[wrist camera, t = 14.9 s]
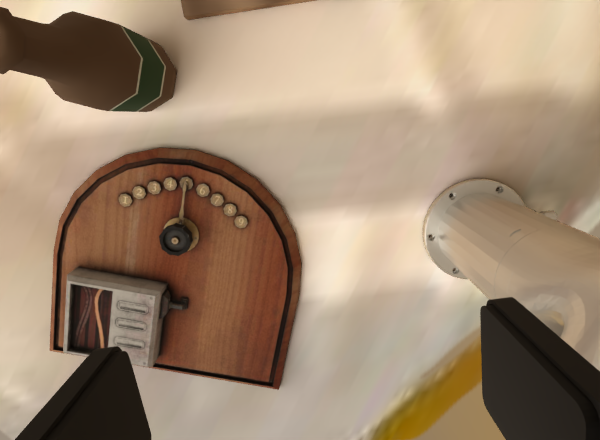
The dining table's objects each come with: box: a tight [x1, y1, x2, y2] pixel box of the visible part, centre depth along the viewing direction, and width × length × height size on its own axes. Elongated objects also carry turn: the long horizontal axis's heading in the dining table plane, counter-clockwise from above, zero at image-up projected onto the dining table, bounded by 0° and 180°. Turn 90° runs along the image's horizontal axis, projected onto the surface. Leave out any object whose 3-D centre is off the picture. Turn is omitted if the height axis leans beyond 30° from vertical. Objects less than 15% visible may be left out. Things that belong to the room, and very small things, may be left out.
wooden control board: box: [50, 148, 301, 389], centre depth 49 cm, size 31×5×30 cm
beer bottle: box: [0, 7, 177, 112], centre depth 33 cm, size 8×8×24 cm
